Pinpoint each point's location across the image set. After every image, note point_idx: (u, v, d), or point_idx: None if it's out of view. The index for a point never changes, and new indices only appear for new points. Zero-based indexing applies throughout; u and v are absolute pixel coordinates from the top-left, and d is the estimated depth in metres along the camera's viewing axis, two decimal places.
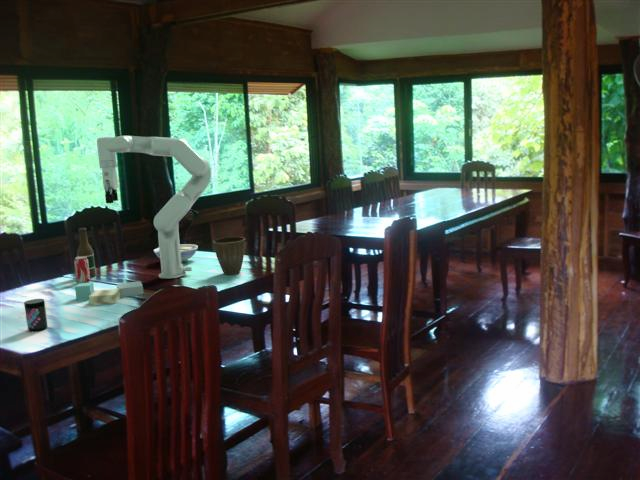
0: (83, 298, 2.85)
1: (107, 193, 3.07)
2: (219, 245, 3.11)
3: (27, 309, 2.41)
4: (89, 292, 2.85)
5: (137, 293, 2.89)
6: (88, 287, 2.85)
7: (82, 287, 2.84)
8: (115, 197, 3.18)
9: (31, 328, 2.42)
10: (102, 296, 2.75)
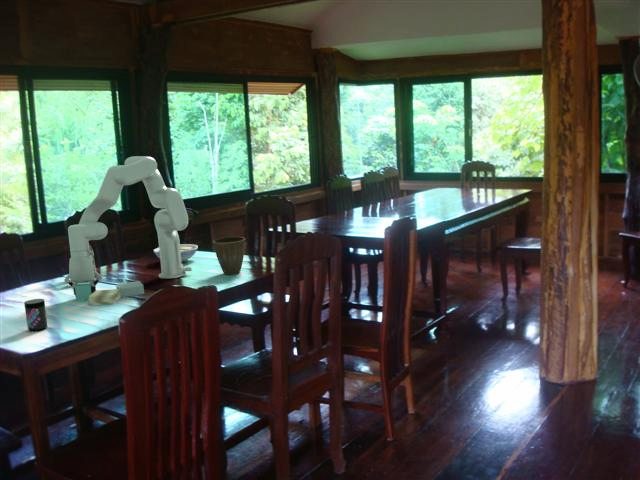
0: (83, 298, 2.85)
1: None
2: (219, 245, 3.11)
3: (27, 309, 2.41)
4: (89, 292, 2.85)
5: (138, 293, 2.89)
6: (88, 287, 2.84)
7: (82, 287, 2.84)
8: None
9: (31, 328, 2.42)
10: (101, 296, 2.75)
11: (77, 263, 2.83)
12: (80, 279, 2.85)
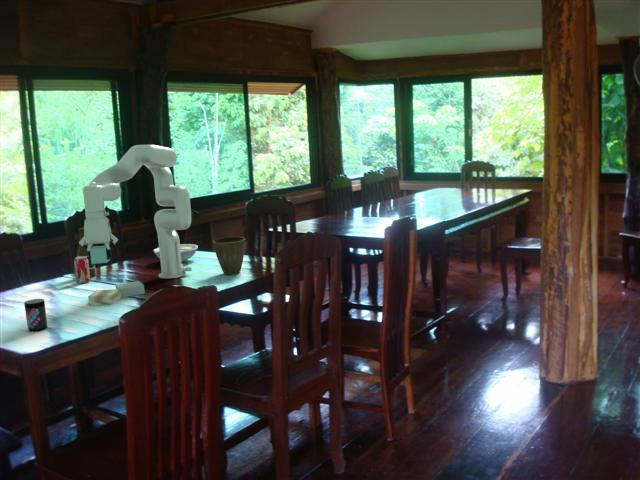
0: (98, 261, 2.75)
1: None
2: (219, 245, 3.11)
3: (27, 309, 2.41)
4: (104, 255, 2.75)
5: (139, 293, 2.89)
6: (103, 250, 2.74)
7: (97, 250, 2.74)
8: None
9: (31, 328, 2.42)
10: (101, 296, 2.75)
11: (92, 225, 2.73)
12: (95, 241, 2.75)
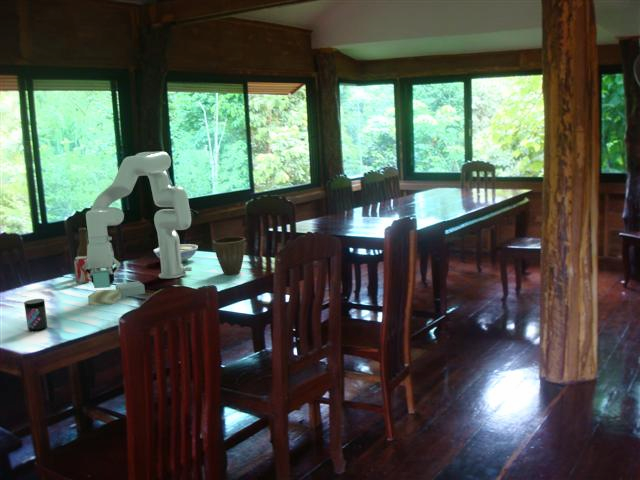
0: (101, 286, 2.77)
1: None
2: (219, 245, 3.11)
3: (27, 309, 2.41)
4: (107, 279, 2.77)
5: (139, 293, 2.89)
6: (106, 274, 2.76)
7: (100, 274, 2.76)
8: None
9: (31, 328, 2.42)
10: (101, 296, 2.75)
11: (95, 250, 2.75)
12: (98, 266, 2.76)
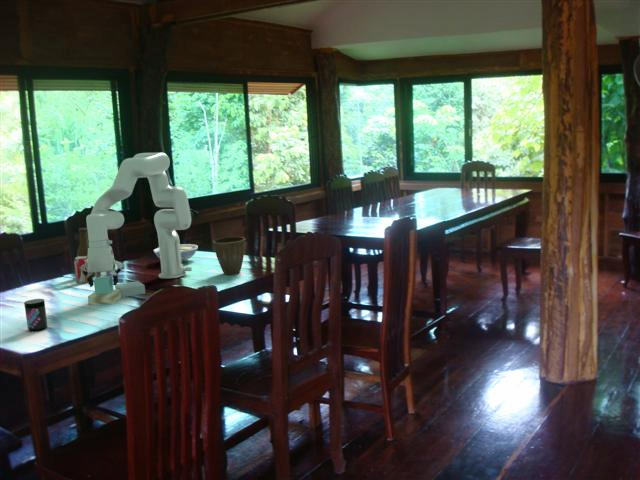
0: (102, 292, 2.77)
1: None
2: (219, 245, 3.11)
3: (27, 309, 2.41)
4: (108, 286, 2.77)
5: (139, 293, 2.89)
6: (107, 281, 2.77)
7: (101, 281, 2.77)
8: (92, 282, 2.80)
9: (31, 328, 2.42)
10: (100, 296, 2.75)
11: (96, 253, 2.75)
12: (99, 270, 2.77)
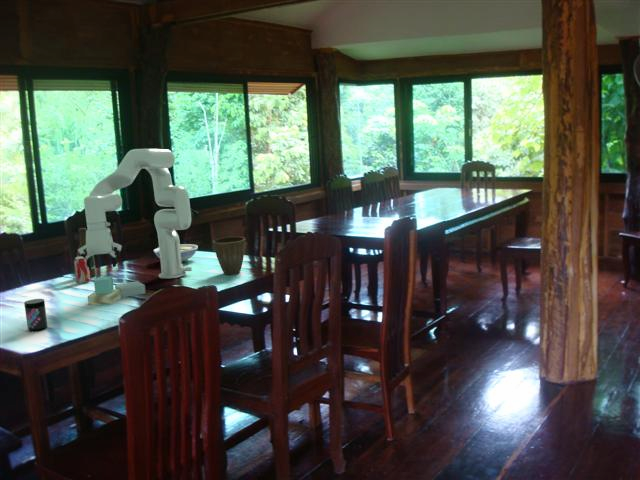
0: (102, 292, 2.77)
1: (116, 255, 2.78)
2: (219, 245, 3.11)
3: (27, 309, 2.41)
4: (108, 286, 2.77)
5: (139, 293, 2.89)
6: (107, 281, 2.77)
7: (101, 281, 2.77)
8: (91, 264, 2.79)
9: (31, 328, 2.42)
10: (100, 296, 2.75)
11: (94, 235, 2.74)
12: (97, 252, 2.76)
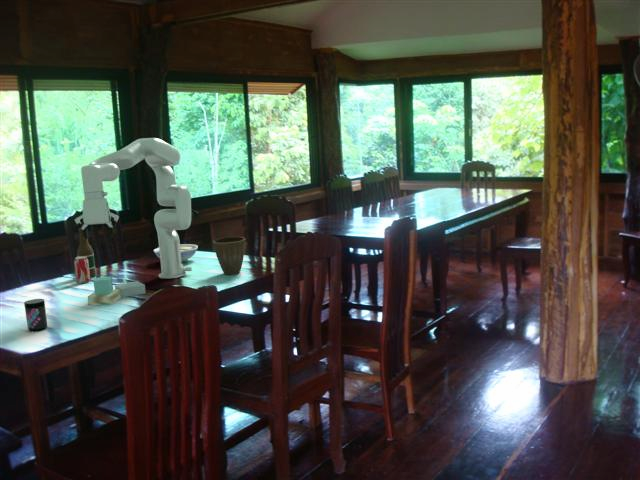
0: (102, 292, 2.77)
1: (113, 225, 2.77)
2: (219, 245, 3.11)
3: (27, 309, 2.41)
4: (108, 286, 2.77)
5: (140, 292, 2.90)
6: (107, 281, 2.76)
7: (101, 281, 2.76)
8: (87, 234, 2.78)
9: (31, 328, 2.42)
10: (100, 296, 2.75)
11: (91, 205, 2.73)
12: (94, 222, 2.74)
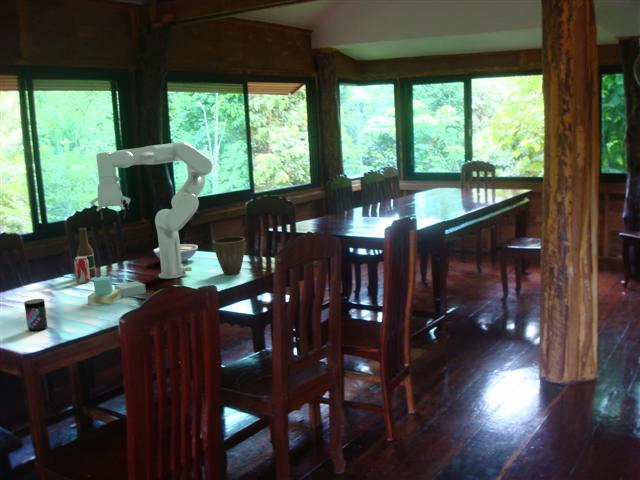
0: (102, 292, 2.77)
1: (125, 207, 3.03)
2: (219, 245, 3.11)
3: (27, 309, 2.41)
4: (108, 286, 2.77)
5: (140, 292, 2.90)
6: (107, 281, 2.77)
7: (101, 281, 2.76)
8: (102, 216, 3.03)
9: (31, 328, 2.42)
10: (100, 296, 2.75)
11: (105, 188, 2.98)
12: (108, 204, 3.00)
